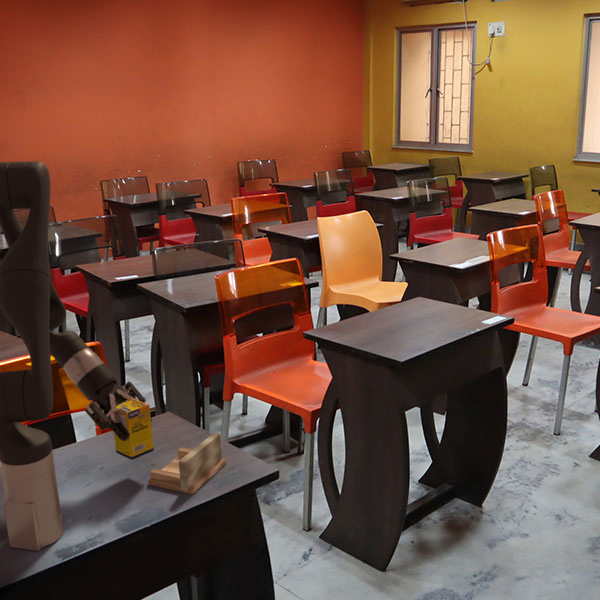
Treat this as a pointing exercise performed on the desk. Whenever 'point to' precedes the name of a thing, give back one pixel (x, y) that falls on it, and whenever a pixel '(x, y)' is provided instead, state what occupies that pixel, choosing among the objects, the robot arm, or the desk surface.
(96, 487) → the desk surface
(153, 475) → the backstop pocket
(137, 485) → the desk surface
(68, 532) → the desk surface
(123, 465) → the desk surface
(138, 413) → the supplement box
